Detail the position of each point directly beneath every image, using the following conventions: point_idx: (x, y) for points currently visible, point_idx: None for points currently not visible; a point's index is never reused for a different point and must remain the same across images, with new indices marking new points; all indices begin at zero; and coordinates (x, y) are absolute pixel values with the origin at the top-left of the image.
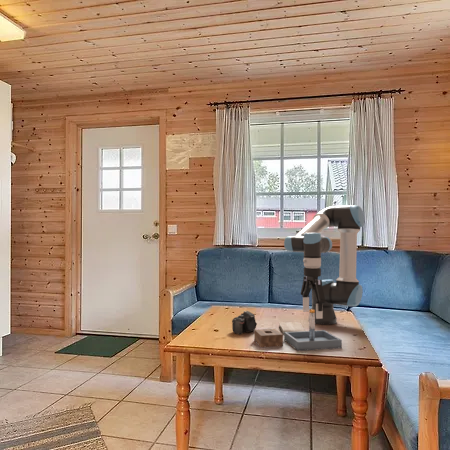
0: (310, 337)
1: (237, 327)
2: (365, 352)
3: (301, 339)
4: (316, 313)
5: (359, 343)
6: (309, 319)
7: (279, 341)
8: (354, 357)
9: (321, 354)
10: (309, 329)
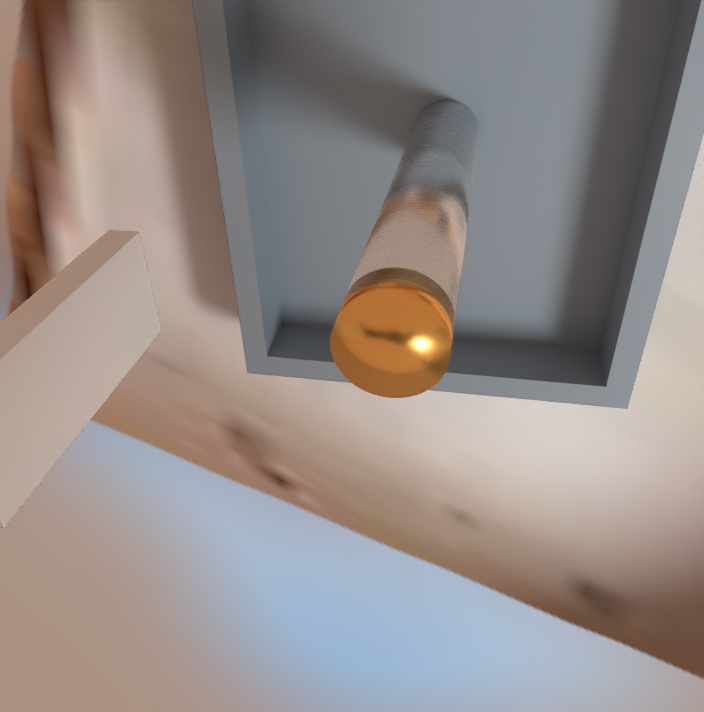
0: (423, 120)
1: None
2: (163, 421)
3: (567, 33)
4: (66, 274)
5: (372, 503)
6: (419, 208)
7: None
8: None
9: (89, 52)
10: (435, 148)
